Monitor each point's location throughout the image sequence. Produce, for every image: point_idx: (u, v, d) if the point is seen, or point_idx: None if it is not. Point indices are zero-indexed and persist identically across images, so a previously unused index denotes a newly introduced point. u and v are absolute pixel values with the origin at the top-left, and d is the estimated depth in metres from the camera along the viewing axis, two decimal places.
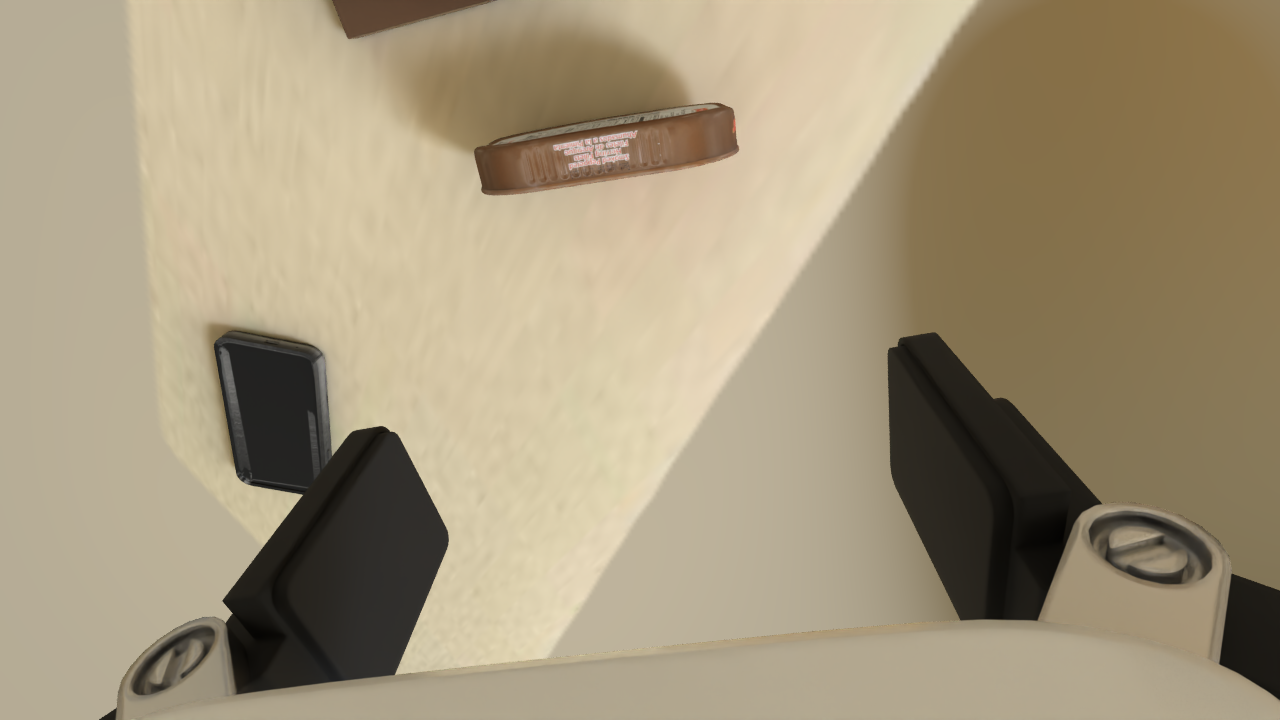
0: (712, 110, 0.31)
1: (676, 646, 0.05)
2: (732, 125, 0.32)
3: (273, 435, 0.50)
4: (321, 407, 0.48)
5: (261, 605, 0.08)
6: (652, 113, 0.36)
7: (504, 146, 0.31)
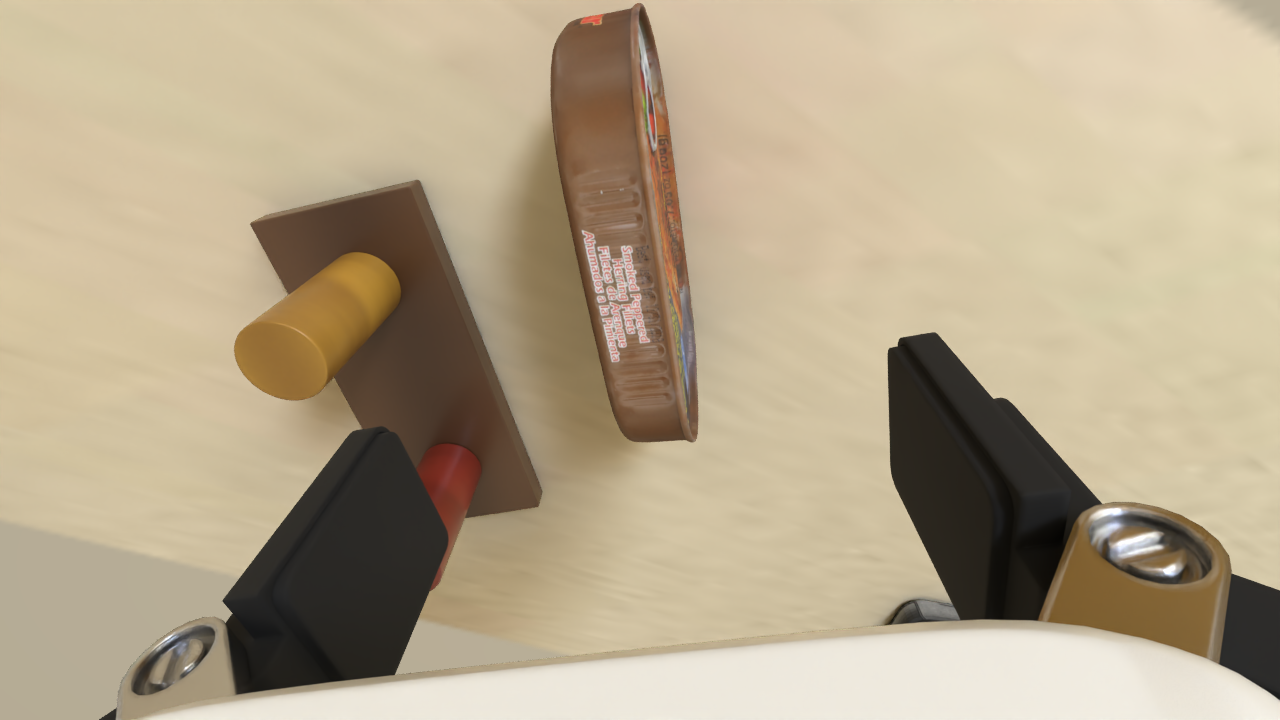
0: (551, 77, 0.16)
1: (676, 646, 0.05)
2: (587, 26, 0.17)
3: None
4: None
5: (260, 605, 0.08)
6: None
7: (618, 422, 0.21)
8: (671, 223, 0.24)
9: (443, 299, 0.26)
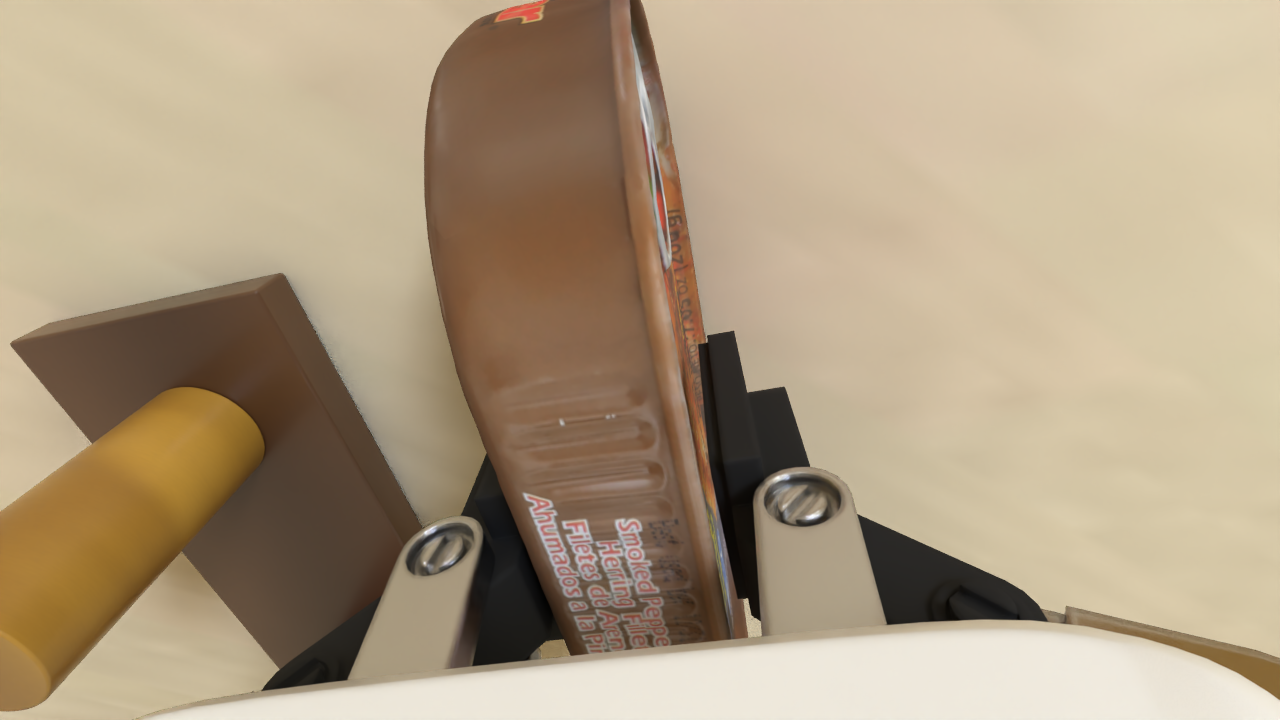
0: (425, 154, 0.07)
1: (676, 646, 0.05)
2: (510, 26, 0.07)
3: None
4: None
5: None
6: None
7: None
8: (691, 345, 0.15)
9: (332, 453, 0.16)
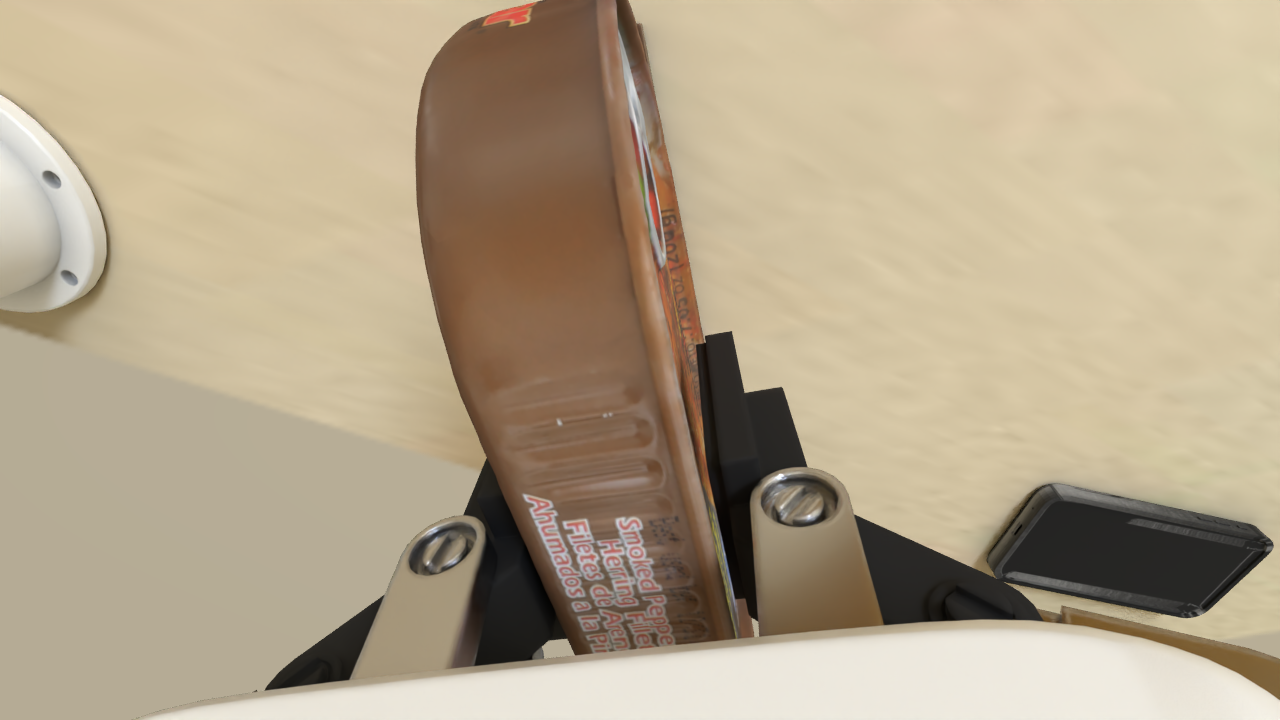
0: (416, 158, 0.07)
1: (676, 646, 0.05)
2: (498, 29, 0.07)
3: (1145, 566, 0.38)
4: (1129, 508, 0.36)
5: None
6: None
7: None
8: (689, 344, 0.15)
9: None
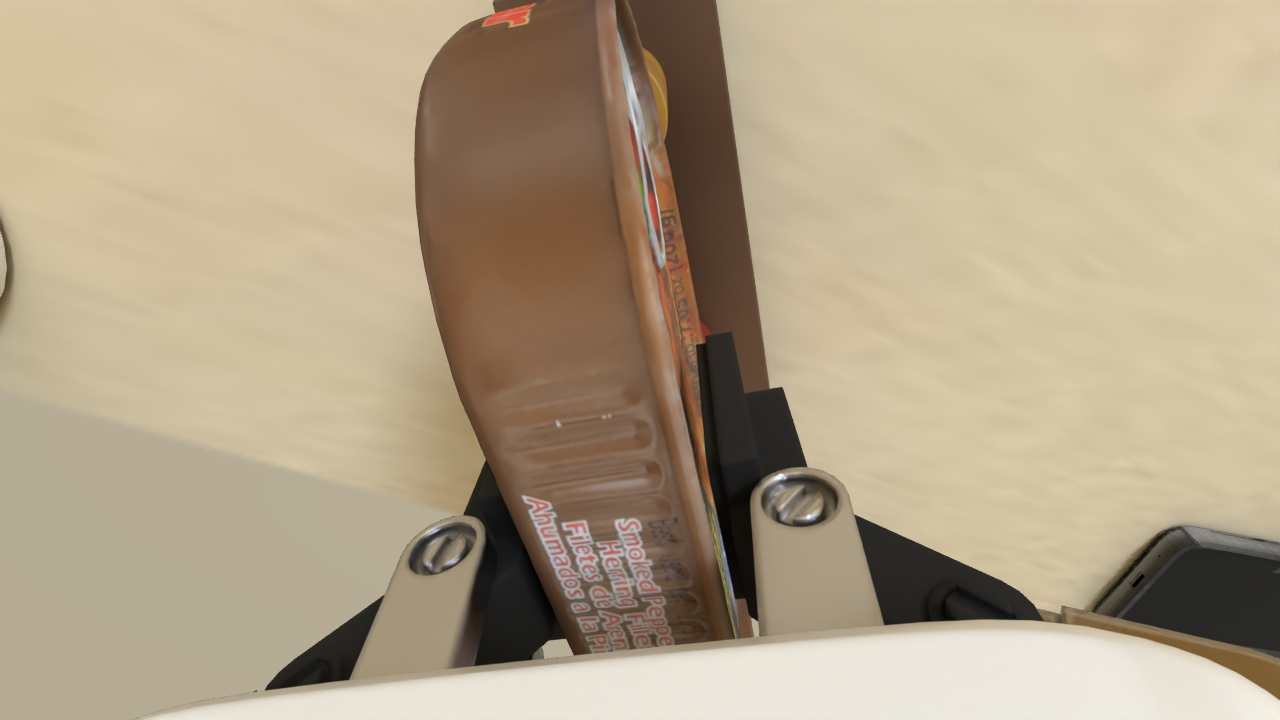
0: (415, 160, 0.07)
1: (676, 646, 0.05)
2: (497, 30, 0.07)
3: None
4: (1279, 555, 0.30)
5: None
6: None
7: None
8: (689, 345, 0.15)
9: (716, 111, 0.21)
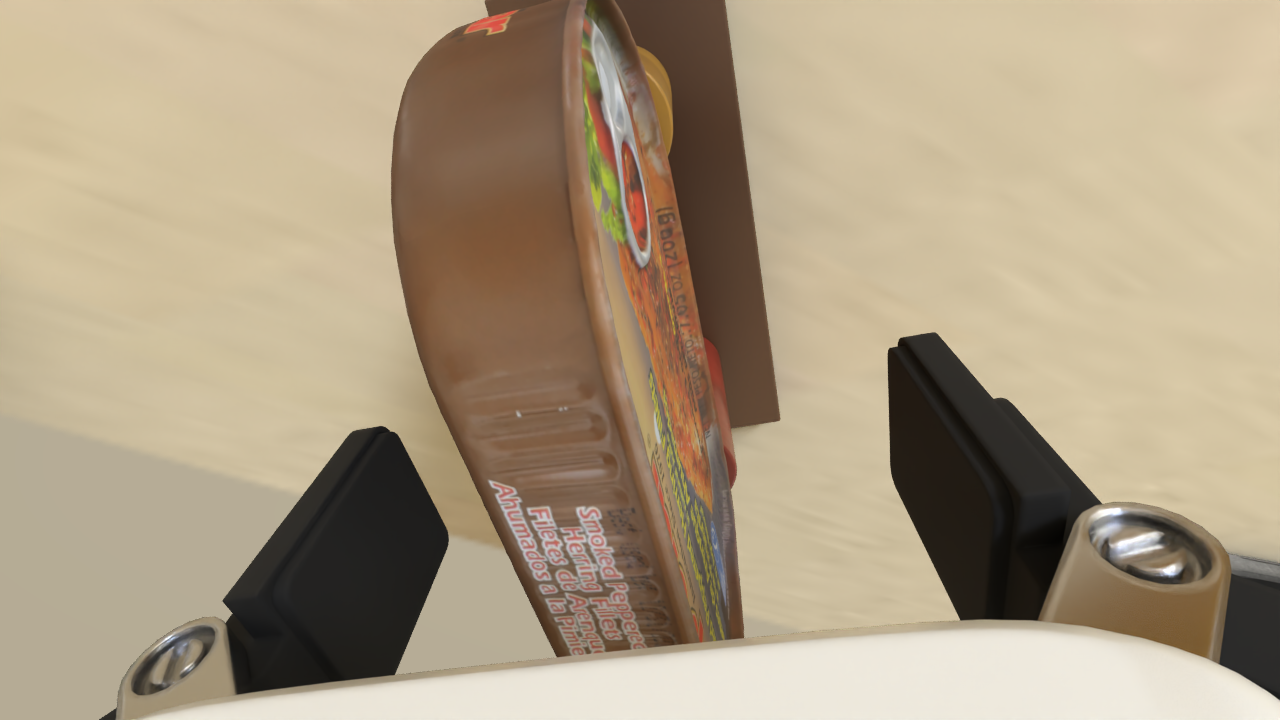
0: (392, 161, 0.07)
1: (676, 646, 0.05)
2: (476, 38, 0.08)
3: None
4: None
5: (261, 605, 0.08)
6: None
7: None
8: (687, 340, 0.15)
9: (725, 117, 0.19)
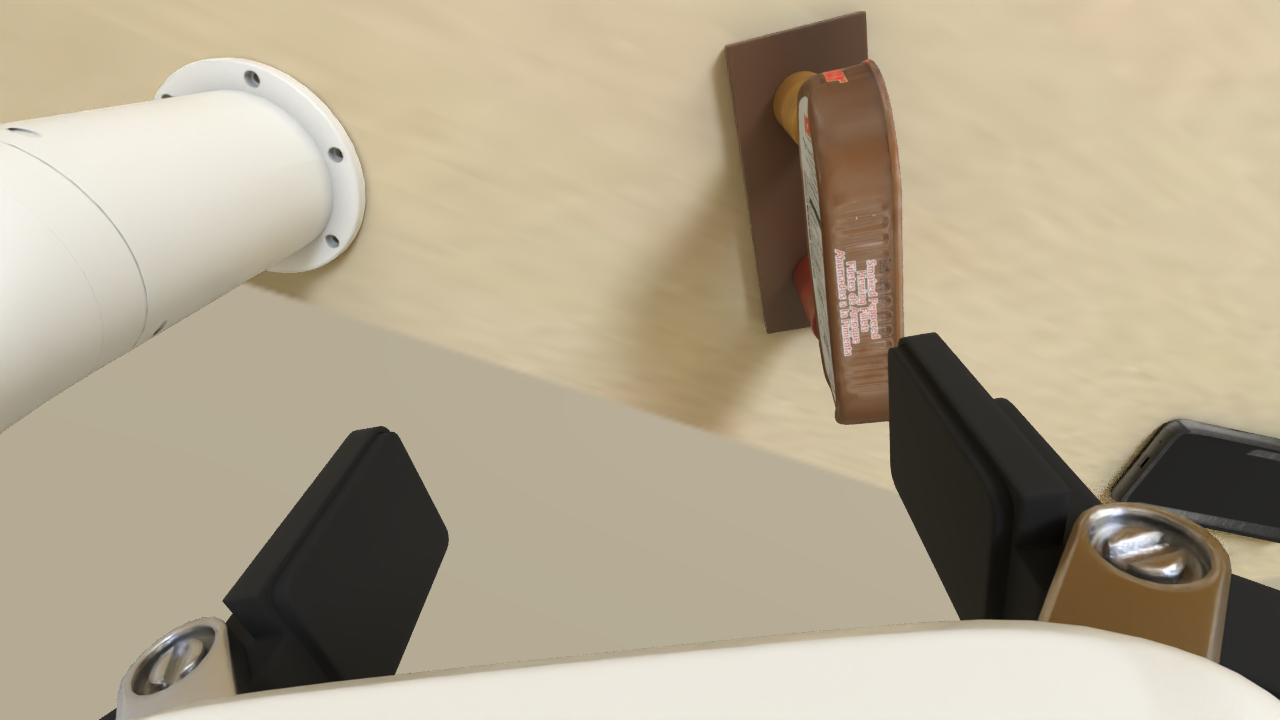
0: (812, 128, 0.20)
1: (676, 646, 0.05)
2: (835, 84, 0.21)
3: (1260, 495, 0.43)
4: (1251, 439, 0.40)
5: (261, 605, 0.08)
6: (805, 181, 0.27)
7: (839, 407, 0.24)
8: None
9: None
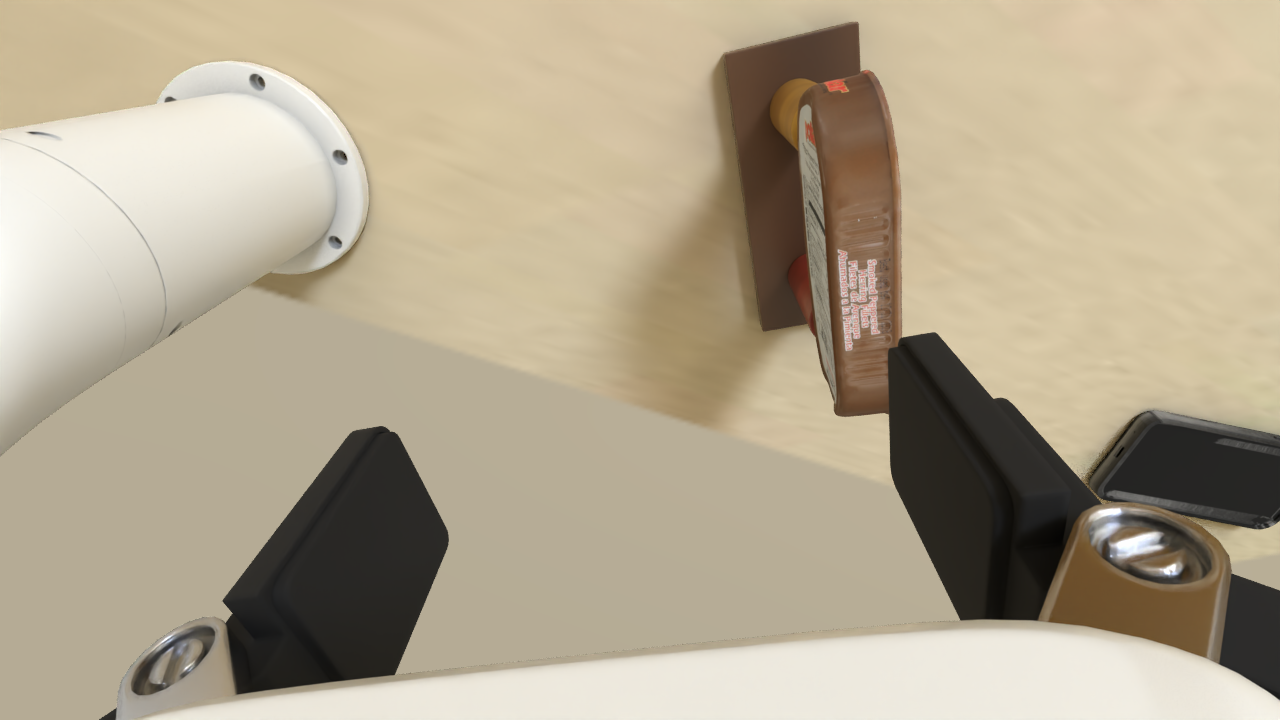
0: (817, 135, 0.21)
1: (676, 646, 0.05)
2: (837, 93, 0.22)
3: (1227, 482, 0.45)
4: (1218, 429, 0.43)
5: (261, 605, 0.08)
6: (804, 184, 0.28)
7: (840, 399, 0.26)
8: None
9: None
